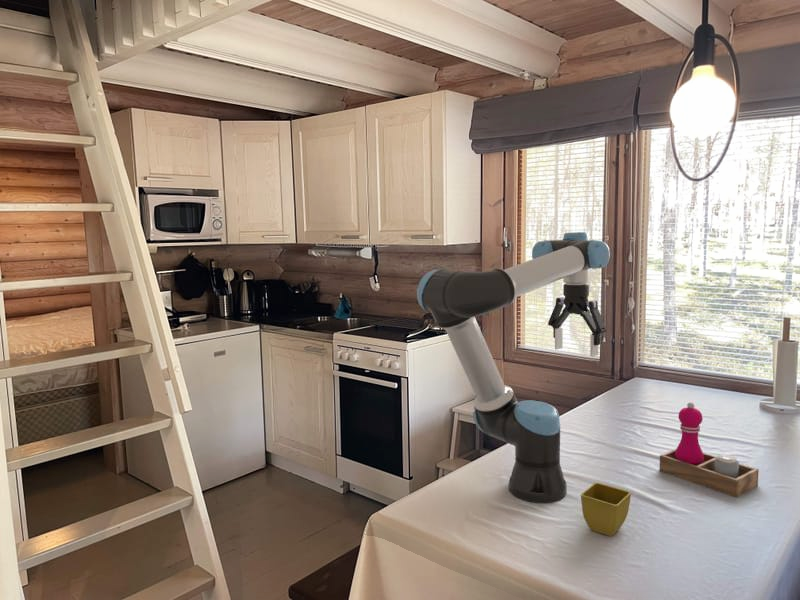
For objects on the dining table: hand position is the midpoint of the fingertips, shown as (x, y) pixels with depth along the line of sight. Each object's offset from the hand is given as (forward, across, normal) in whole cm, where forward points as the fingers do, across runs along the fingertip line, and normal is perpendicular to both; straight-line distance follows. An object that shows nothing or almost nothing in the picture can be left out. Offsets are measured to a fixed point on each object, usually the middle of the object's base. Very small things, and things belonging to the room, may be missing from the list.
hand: (575, 352), depth 183 cm
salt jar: (+31, -42, -10) cm, 53 cm away
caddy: (+32, -36, -10) cm, 49 cm away
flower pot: (+32, -36, +33) cm, 58 cm away
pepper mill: (+31, -31, -10) cm, 45 cm away
